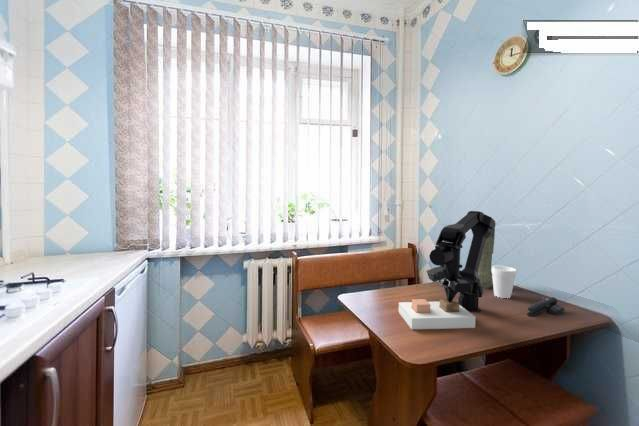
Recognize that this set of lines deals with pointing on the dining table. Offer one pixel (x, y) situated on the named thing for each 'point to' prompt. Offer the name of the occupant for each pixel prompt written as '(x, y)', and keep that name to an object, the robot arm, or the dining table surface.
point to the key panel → (436, 317)
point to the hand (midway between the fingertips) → (449, 301)
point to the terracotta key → (420, 306)
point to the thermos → (486, 262)
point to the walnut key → (449, 305)
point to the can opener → (545, 307)
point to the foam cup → (503, 280)
